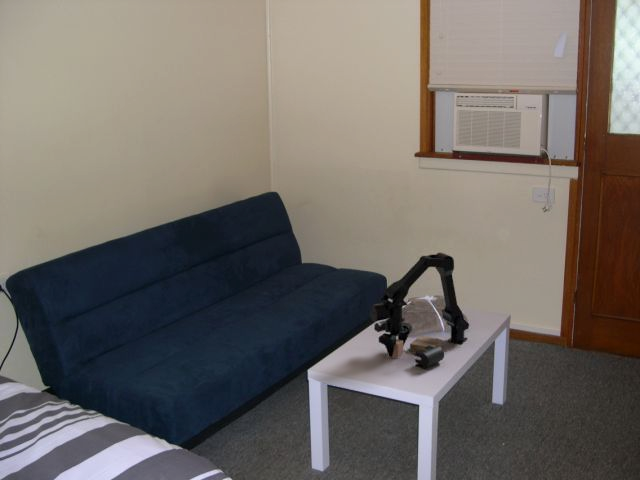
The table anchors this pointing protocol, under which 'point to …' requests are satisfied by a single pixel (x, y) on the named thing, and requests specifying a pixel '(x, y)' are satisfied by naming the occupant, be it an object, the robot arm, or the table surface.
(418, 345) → the tan block
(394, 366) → the table surface
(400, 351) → the terracotta block
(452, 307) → the robot arm
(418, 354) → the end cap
